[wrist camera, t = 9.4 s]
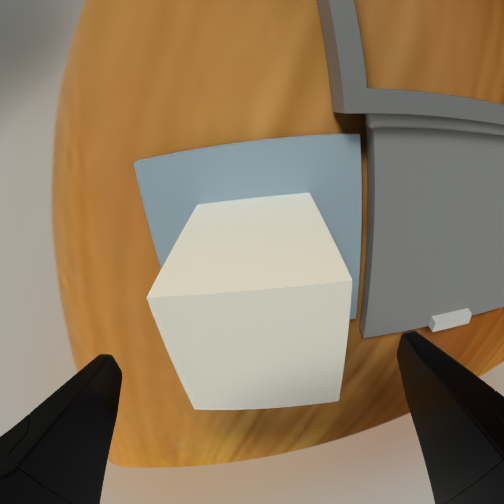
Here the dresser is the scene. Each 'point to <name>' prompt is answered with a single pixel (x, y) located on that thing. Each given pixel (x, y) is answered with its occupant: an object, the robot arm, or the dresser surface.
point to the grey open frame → (422, 193)
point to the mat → (259, 186)
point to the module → (255, 305)
